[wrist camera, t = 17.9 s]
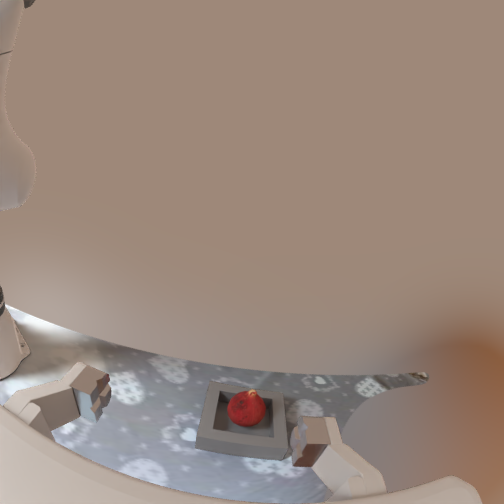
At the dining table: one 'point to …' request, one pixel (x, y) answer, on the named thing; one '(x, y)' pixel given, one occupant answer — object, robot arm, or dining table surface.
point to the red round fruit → (246, 408)
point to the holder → (237, 437)
